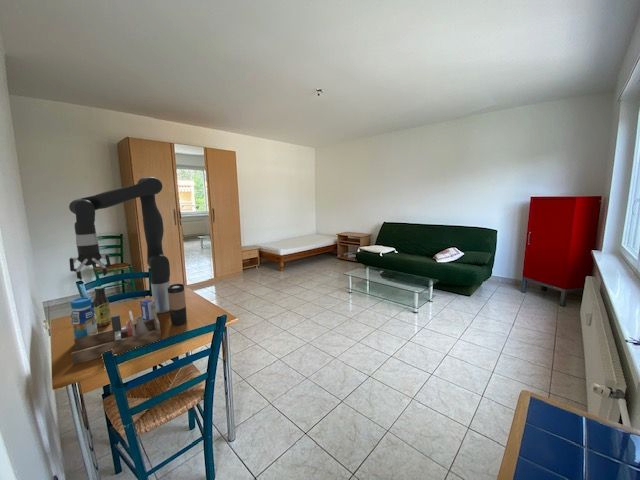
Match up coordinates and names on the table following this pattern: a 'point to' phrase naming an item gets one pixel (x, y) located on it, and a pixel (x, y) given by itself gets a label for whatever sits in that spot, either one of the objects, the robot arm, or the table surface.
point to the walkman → (148, 309)
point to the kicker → (117, 327)
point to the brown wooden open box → (115, 345)
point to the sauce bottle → (101, 307)
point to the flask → (140, 326)
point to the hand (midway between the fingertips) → (92, 277)
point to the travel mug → (177, 304)
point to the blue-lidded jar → (83, 317)
